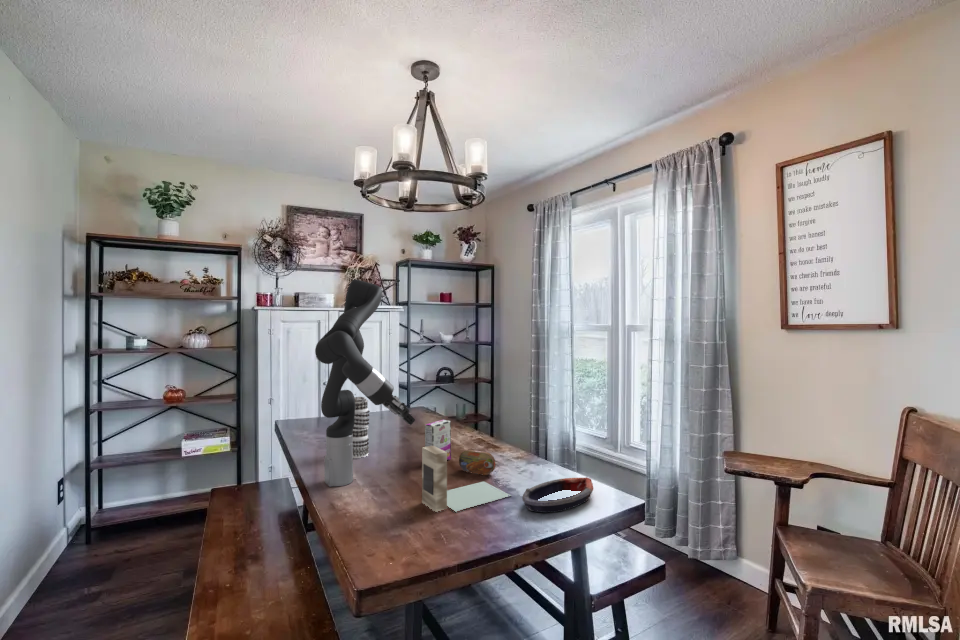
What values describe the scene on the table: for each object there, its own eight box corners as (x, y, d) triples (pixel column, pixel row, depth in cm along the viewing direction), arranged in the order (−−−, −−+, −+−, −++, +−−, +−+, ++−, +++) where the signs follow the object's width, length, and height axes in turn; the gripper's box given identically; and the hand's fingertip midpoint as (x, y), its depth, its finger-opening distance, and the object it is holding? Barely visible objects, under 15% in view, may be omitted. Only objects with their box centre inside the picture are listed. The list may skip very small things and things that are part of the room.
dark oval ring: (509, 505, 147) (509, 489, 147) (574, 484, 165) (574, 470, 165) (543, 523, 135) (543, 506, 135) (610, 498, 153) (610, 483, 153)
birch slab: (434, 513, 141) (434, 454, 141) (421, 503, 148) (421, 447, 148) (446, 509, 143) (447, 452, 143) (432, 500, 151) (432, 445, 151)
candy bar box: (442, 457, 196) (442, 419, 196) (451, 459, 193) (451, 420, 193) (424, 464, 187) (424, 424, 187) (433, 466, 184) (433, 425, 184)
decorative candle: (366, 458, 194) (366, 399, 194) (344, 458, 194) (344, 399, 194) (372, 452, 203) (372, 396, 203) (351, 452, 203) (351, 395, 203)
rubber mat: (455, 512, 141) (455, 511, 141) (430, 495, 154) (430, 494, 154) (511, 496, 154) (511, 495, 154) (483, 482, 167) (483, 481, 167)
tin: (458, 470, 179) (458, 449, 179) (462, 468, 182) (462, 447, 182) (492, 477, 172) (492, 454, 172) (496, 474, 175) (496, 452, 175)
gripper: (391, 378, 130) (430, 416, 137) (374, 373, 141) (410, 408, 148) (374, 399, 127) (414, 436, 134) (357, 392, 138) (394, 427, 145)
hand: (411, 421), depth 141 cm, fingers closed
